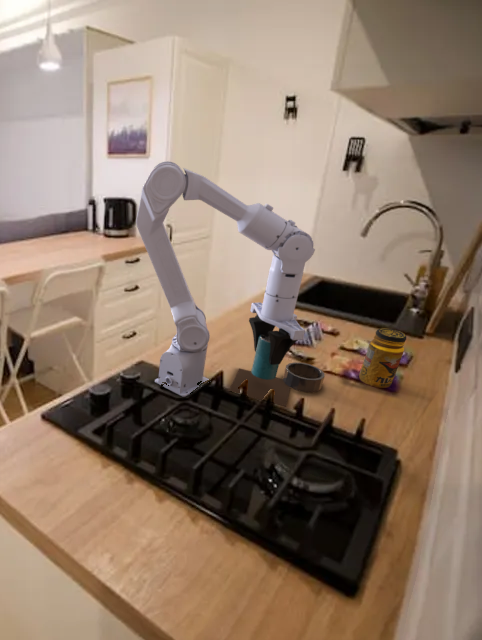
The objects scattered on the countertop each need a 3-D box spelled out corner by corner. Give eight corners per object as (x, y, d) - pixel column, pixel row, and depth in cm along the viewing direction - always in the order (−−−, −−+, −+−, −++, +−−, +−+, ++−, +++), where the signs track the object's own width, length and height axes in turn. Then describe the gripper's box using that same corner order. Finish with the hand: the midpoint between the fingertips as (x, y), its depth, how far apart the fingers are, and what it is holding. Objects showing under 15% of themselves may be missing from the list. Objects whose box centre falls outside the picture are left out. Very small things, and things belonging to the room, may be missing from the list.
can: (268, 382, 81) (278, 344, 77) (246, 372, 84) (254, 336, 80) (280, 374, 84) (289, 338, 80) (258, 366, 87) (266, 330, 83)
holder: (311, 398, 82) (315, 383, 80) (276, 383, 87) (279, 369, 85) (326, 386, 86) (330, 371, 85) (291, 372, 91) (295, 359, 90)
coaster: (285, 409, 79) (286, 406, 78) (227, 393, 83) (228, 391, 83) (291, 383, 87) (291, 380, 87) (238, 370, 92) (239, 368, 92)
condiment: (393, 394, 84) (413, 342, 79) (346, 383, 87) (363, 333, 82) (390, 379, 89) (409, 329, 84) (346, 369, 93) (362, 321, 88)
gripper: (326, 305, 71) (308, 373, 76) (277, 281, 83) (264, 340, 89) (290, 308, 69) (274, 376, 75) (246, 282, 82) (235, 343, 88)
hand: (267, 357), depth 82 cm, fingers closed on can, 5 cm apart
